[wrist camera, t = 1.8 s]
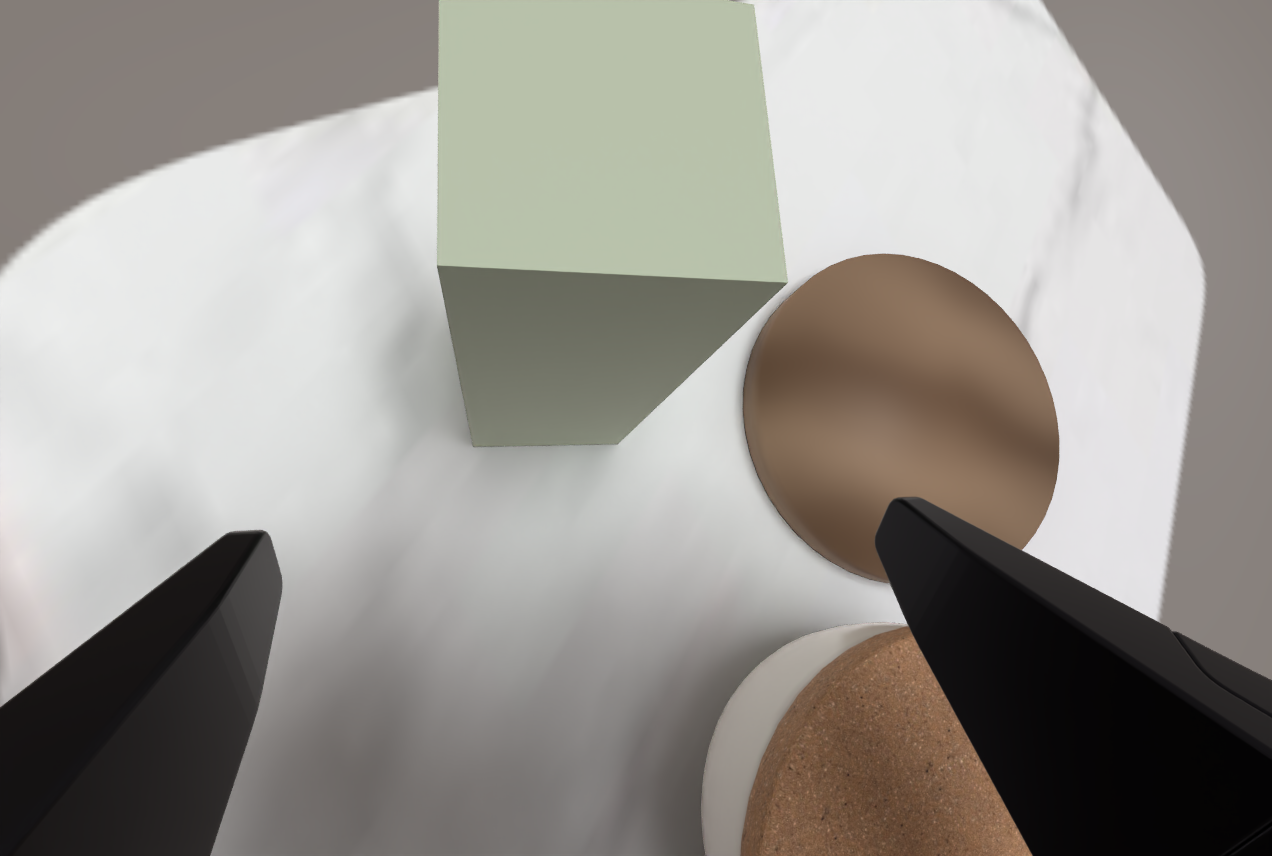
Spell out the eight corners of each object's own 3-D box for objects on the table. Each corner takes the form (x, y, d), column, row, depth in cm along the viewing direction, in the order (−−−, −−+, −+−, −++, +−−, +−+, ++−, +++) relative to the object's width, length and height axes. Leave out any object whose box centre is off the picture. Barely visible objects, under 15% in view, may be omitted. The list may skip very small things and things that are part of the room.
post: (617, 444, 21) (788, 282, 9) (472, 446, 20) (436, 265, 8) (610, 313, 22) (754, 4, 10) (472, 308, 21) (439, -48, 9)
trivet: (1033, 603, 24) (1067, 606, 22) (728, 560, 21) (745, 560, 20) (1022, 307, 27) (1051, 293, 25) (756, 239, 24) (772, 220, 23)
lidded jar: (882, 567, 23) (1135, 571, 14) (984, 863, 21) (1344, 1087, 12) (617, 662, 20) (719, 748, 11) (713, 1016, 18) (925, 1458, 9)
